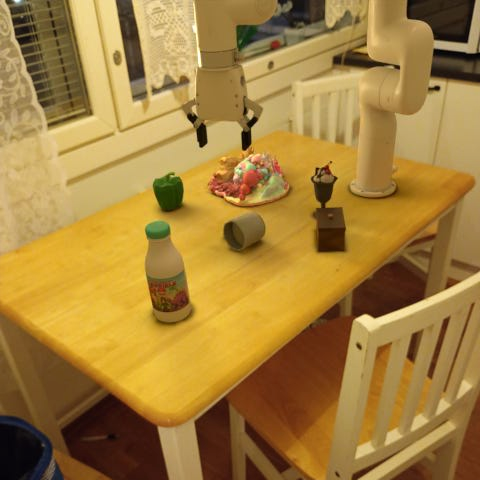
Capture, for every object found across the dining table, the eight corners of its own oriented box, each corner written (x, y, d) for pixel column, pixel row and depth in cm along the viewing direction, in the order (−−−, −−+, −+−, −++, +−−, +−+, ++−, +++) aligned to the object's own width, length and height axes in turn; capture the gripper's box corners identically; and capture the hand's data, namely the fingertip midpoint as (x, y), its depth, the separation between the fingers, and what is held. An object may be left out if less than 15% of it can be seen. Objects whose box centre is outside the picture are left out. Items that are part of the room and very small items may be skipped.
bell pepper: (150, 211, 147) (144, 177, 141) (164, 198, 153) (159, 165, 147) (177, 214, 144) (171, 180, 138) (190, 201, 150) (185, 168, 144)
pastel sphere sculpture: (193, 188, 157) (190, 157, 152) (251, 164, 169) (249, 135, 163) (251, 212, 142) (249, 180, 136) (309, 184, 154) (309, 153, 148)
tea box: (317, 251, 124) (318, 225, 120) (315, 230, 132) (316, 205, 128) (344, 251, 123) (346, 225, 119) (340, 229, 131) (342, 204, 127)
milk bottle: (155, 303, 112) (137, 218, 99) (191, 299, 112) (178, 214, 100) (153, 325, 106) (134, 238, 93) (191, 321, 106) (177, 233, 94)
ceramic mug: (268, 241, 129) (267, 212, 124) (245, 255, 125) (243, 226, 120) (238, 229, 135) (235, 202, 131) (215, 242, 131) (211, 214, 126)
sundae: (335, 221, 135) (337, 164, 126) (309, 220, 136) (309, 164, 127) (336, 209, 140) (339, 154, 131) (311, 208, 141) (312, 154, 132)
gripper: (266, 55, 101) (268, 143, 112) (185, 54, 106) (194, 138, 117) (254, 64, 96) (257, 156, 106) (169, 62, 101) (180, 150, 111)
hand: (224, 147), depth 111 cm, fingers open, 9 cm apart
